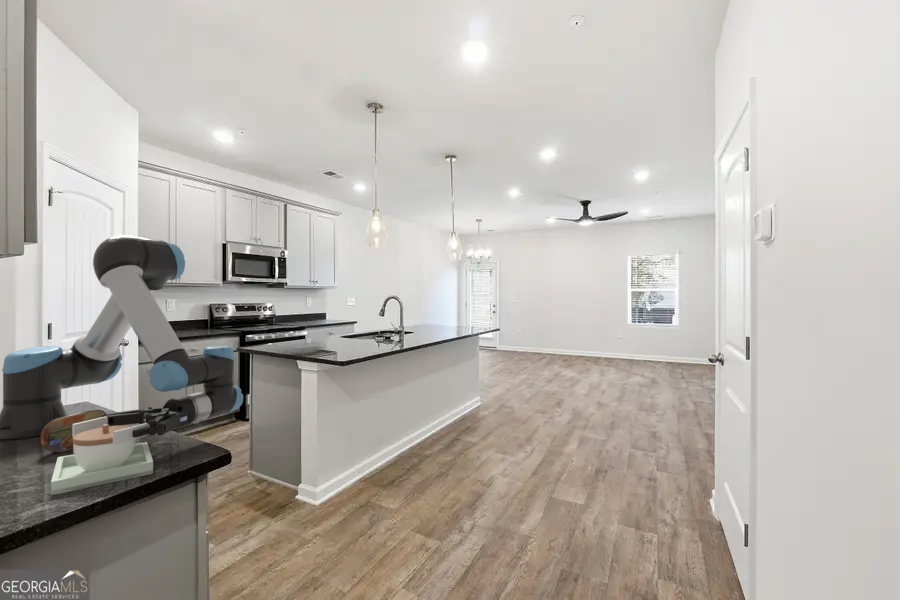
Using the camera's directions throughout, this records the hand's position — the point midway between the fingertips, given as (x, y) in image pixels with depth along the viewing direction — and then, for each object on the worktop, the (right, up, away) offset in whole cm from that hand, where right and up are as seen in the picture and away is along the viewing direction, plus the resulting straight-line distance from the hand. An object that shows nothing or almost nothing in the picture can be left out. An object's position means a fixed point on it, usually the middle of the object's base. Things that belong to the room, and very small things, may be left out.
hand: (92, 434), depth 88 cm
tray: (+1, -9, +2) cm, 9 cm away
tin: (-19, -9, +17) cm, 28 cm away
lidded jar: (+1, -8, +2) cm, 9 cm away
